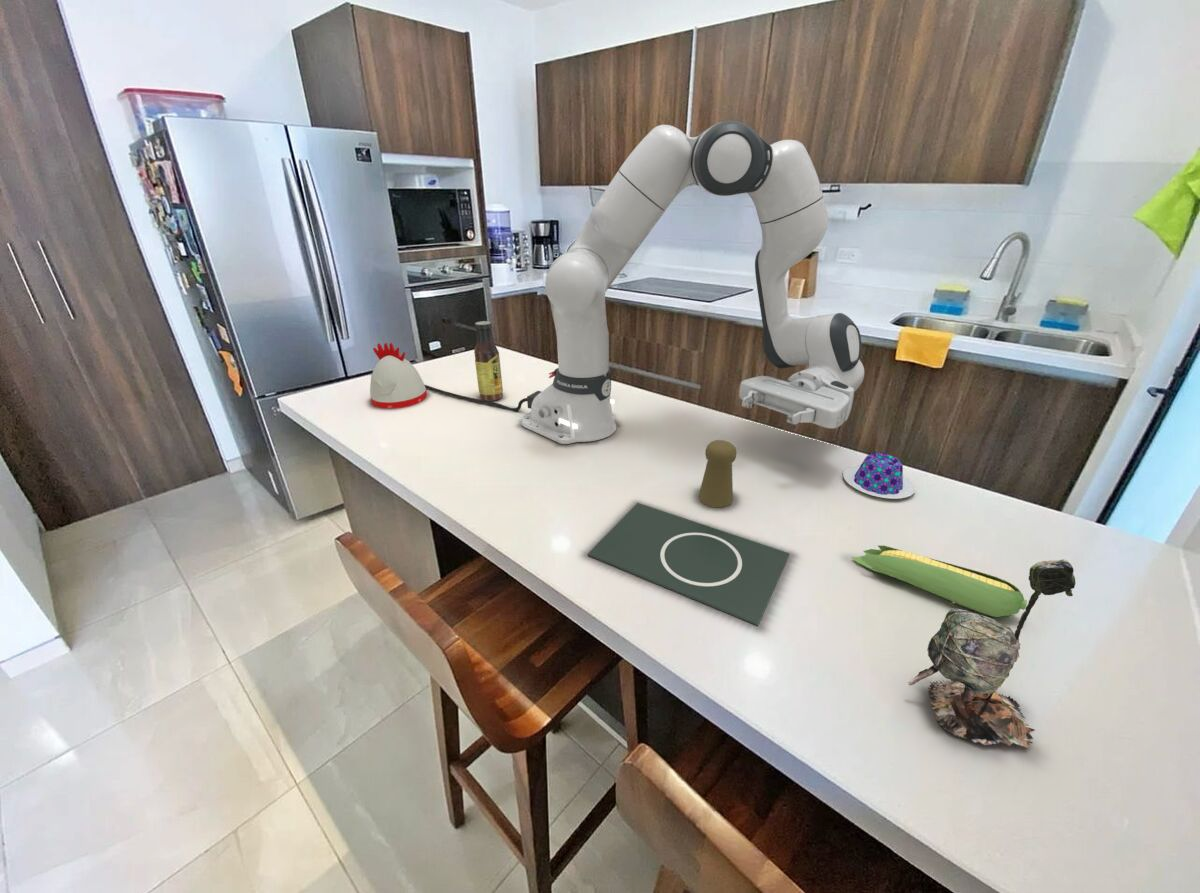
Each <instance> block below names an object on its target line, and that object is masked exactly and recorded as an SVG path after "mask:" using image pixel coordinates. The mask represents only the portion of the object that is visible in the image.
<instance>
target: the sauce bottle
mask: <svg viewBox="0 0 1200 893" xmlns="http://www.w3.org/2000/svg"><path fill="white" fill-rule="evenodd" d="M474 327H475V330H476V340H477V342H476V345H475V346H474V348H473V350H474V351H473V352H474V364H475V371H476V372H475V373H476V379H477V388H478V393H479V399H480V400H484V401H490V402H494V401H498V400H500V399H501V398H503V396H504V395H503V394H504V392H503V391H504V387H503V376H502V369H501V359H500V352H499V350H498V347H497V345H496V344H495V341H494V337H493V330H492V328H493V326H492V322H491V321H489V320H488V321H487V320H482V321H477V322H475V323H474Z"/></svg>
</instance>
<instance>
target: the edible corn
mask: <svg viewBox="0 0 1200 893" xmlns="http://www.w3.org/2000/svg"><path fill="white" fill-rule="evenodd" d="M877 547H878V548H879V549H875V548H874V549H873V548H869V549H865V550H862V551H863V553H864V554H865V555H861V556H852V557H851V559H852V560H854V562H856V563H858V564H860V565H862V566H863V567H865V568H867V569H869V570H871V571H872V572H873V571H874V572H875V573H879V574H882V575H885V576H887V577H890V578H892V579H896V580H899V581H901V582H904V583H906V584H908V585H911V586H913V587H915V588H918V589H920V590H922V591H925V592H927V593H930V594H933V595H935V596H937V597H940V598H942V599H944V600H947V601H949V602H950V603H952V601H956V602H955V603H954V604H956V605H958V606H961V607H964V608H967V609H969V610H971V611H973V612H977V613H978V614H981V615H984V616H987V617H988V616H989V617H990V618H991V617H992V618H1005V617H1010V616H1014V615H1016V614H1018V613H1019V612H1020V611H1021V610H1023V611H1025V610H1026V606H1027V605H1028V600H1027V599H1025V598H1024V594H1023V593H1022V592H1021V590H1020V589H1019V588H1018V587H1017V586H1016V585H1015V584H1012V583H1011V582H1009V581H1007V580H1005V579H1002V578H1000V577H998V576H994V575H991V574H987V573H984V572H982V571H978V570H974V569H970V568H966V567H964V566H960V565H956V564H953V563H948V562H945V561H941V560H937V559H934V558H931V557H927V556H923V555H920V554H917V553H913V552H909V551H905V550H902V549H898V548H895V547H891V546H887V545H877Z"/></svg>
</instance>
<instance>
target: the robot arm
mask: <svg viewBox="0 0 1200 893" xmlns="http://www.w3.org/2000/svg"><path fill="white" fill-rule="evenodd" d="M692 185H696V186H697V187H699V188H701V189H702V190H703V191H705V192H706V193H708V194H712V195H714V196H720V197H721V196H722V197H726V196H727V197H728V196H735V195H740V194H747V195H748V196H749V197H750V199H751V202H752V203H753V206H754V208H755V211H756V214H757V218H758V222H759V225H760V229H761V230H760V231H761V246H760V249H759V250H758V251H757V252H756V255H755V258H754V271H755V273H754V274H755V282H756V289H757V295H758V296H757V297H758V304H759V309H760V315H761V316H760V317H761V322H762V335H763V336H762V348H763V353H764V356H765V358H766V359H767V360H768V361H769V362H770V363H771V365H773V366H774V367H776V368H777V369H788V368H794V367H795V368H796V367H800V366H807V368H805V369H802V370H800V371H798V372H795V373H793V374H791V375H790V376H789V377H788V378H787V380H782V379H780V378H777V377H773V376H769V375H758V376H754V377H749V378H747V379H744V380H743V379H742V380H741V382H740V383H739V387H738V388H739V389H738V396H739V399H740V400H742V401H741V407H743V408H746V409H751V408H754V406H755V405H757V406H760V407H763V408H766V409H769V410H772V411H775V412H777V413H778V412H779V413H780V414H783V415H787V419H786V422H787V423H788V424H791V425H797V424H799V423H800V424H802V423H803V424H804V423H806V424H808V423H810V424H814V425H816V426H819V427H822V428H824V429H831V430H832V429H837V428H839V427H841V426H842V425H843V424H844V423H845V422H846V421H848V420H849V416H850V414H851V411H852V407H853V402H854V399H855V398H854V397H855V392H856V391H857V390H858V389H859V388H860V386H861V385H862V384H863V381H864V379H865V368H864V367H865V366H864V365H863V364H864V363H863V362H861V360H860V359H861V354H862V337H861V333H860V329H859V328H858V326H857V325H856V323H855V322H854V321H853V320H852V319H851V318H850V317H849V316H848V315H846V314H845V313H843V312H837V313H830V314H821V315H816V316H810V317H801V318H793V317H792V316H791V315H790V314H789V309H788V301H787V300H788V299H787V293H786V283H785V280H786V275H787V273H788V271H789V270H790V269H791V268H792V267H794V266H795V265H797V264H798V263H799V262H801V261H802V260H804V259H805V258H807V256H809V255H810V254H811V253H812V252H814V250H816V249H817V247H818V246H819V245H820V244H821V242H822V241H823V239H824V237H825V235H826V234H827V229H828V225H829V218H828V217H829V216H828V209H827V205H826V201H825V197H824V193H823V189H822V185H821V182H820V178H819V176H818V173H817V171H816V168H815V166H814V163H813V161H812V158H811V156H810V154H809V153H808V151H807V149H806V146H805V145H804V144H803V142H801V141H799V140H796V139H782V140H779V141H775V142H773V143H771V144H770V143H769V142H767V140H765V139H764V138H763V137H762V136H760V135H759V133H757V131H755V130H754V129H753V128H752V127H751V126H749V125H748V124H746V123H744V122H742V121H738V120H724V121H720V122H717V123H714V124H713V125H711V126H709V127H708V128H707V129H706V130H704V131H703V132H701V133H699V134H698V135H695V136H693V137H692V136H689V135H687V134H686V133H685V132H683V131H682V130H681V129H679V128H678V127H675V126H673V125H670V124H659V125H657V126H655V127H653V128H652V129H651V130H650V131H649V132H648V133H647V134H646V135H645V136H644V137H643V138H642V140H640V142H639V143H638V144H637V145H636V146H635V147H634V149H633V150H632V151H631V152H630V154H629V155H628V156H627V158H626V159H625V160H624V162H622V165H620V167H619V169H618V171H617V172H616V173H615V175H614V176H613V178H612V179H611V181H610V182H609V184H608V186H607V187H605V189H604V192H603V193H602V194H601V196H600V197H599V199H598V200H597V201H596V204H595V205H594V207H593V208H592V209H591V212H590V214H589V216H588V218H587V220H586V221H585V223H584V225H583V227H582V229H581V231H580V232H579V233H578V236H577V237H576V239H575V241H574V242H573V243H572V245H571V246H570V248H569V249H567V251H566V252H564V253H563V254H561V255H560V256H558V257H557V258H556V259H555V260H554V261H553V262H552V263H551V265H550V266H549V268H548V271H547V274H546V276H545V284H544V286H545V288H544V289H545V292H546V293H545V294H546V296H547V299H548V300H549V305H550V310H551V315H552V316H551V317H552V319H553V320H552V321H553V323H554V325H553V326H554V329H555V335H556V346H557V350H556V351H557V361H558V362H557V366H558V367H556V368H555V369H554V370H553V371H551V372H549V373H548V375H549V376H548V378H549V379H552V378H553V377H554V378H553V381H552V383H551V384H550V385H549V386H547V387H546V388H544V389H543V390H542V391H541V390H536V391H534V392H532V393H531V394H529V395H528V396H526V397H524V398H522V399H520V400H519V402H518V405H517V406H516V407H509V406H507V405H504V404H501V403H499V402H494V401H485V400H482V399H480V398H474V397H470V396H465V395H461V394H457V393H452V392H449V391H445V390H442V389H439V388H436V387H434V386H430V385H427V384H424V385H425V388H426V390H431V391H433V392H436V393H440V394H443V395H447V396H450V397H452V398H453V397H454V398H457V399H461V400H466V401H470V402H474V403H479V404H484V405H490V406H493V407H498V408H501V409H504V410H507V411H511V412H518V411H520V410H521V408H522V405H523V403H525V402H527V403H526V404H527V409H530V412H529V413H527V414H526V415H525V416H524V417H523V418H522V420H521V427H523V428H525V429H528V430H529V431H531V432H534V433H536V434H539V435H540V436H543V437H545V438H546V439H550V440H552V441H554V442H555V443H558V444H561V445H569V444H574V443H581V442H583V443H584V442H585V443H586V442H595V441H599V440H603V439H606V438H608V437H610V436H612V435H613V434H614V433H615V432H616V430H617V424H616V421H615V418H614V412H613V408H612V405H613V404H615V399H611V393H612V392H611V391H612V370H611V367H610V332H609V328H608V321H607V311H606V293H607V291H608V289H609V288H610V287H611V286H612V284H613V283H614V281H615V280H616V279H617V278H618V276H619V274H621V272H622V271H623V269H624V268H625V266H626V265H627V264H628V263H629V261H630V259H631V258H632V257H633V256H634V255H635V253H636V251H638V249H639V248H640V246H641V245H642V244H643V242H644V241H645V239H646V238H647V237H648V235H649V234H650V233H651V231H652V230H653V229H654V227H655V226H656V225H657V223H658V222H659V221H660V219H661V218H662V216H663V215H664V214H665V213H666V211H667V210H668V208H669V207H670V206H671V204H672V203H673V201H674V200H675V199H676V197H677V196H678V195H679V194H680V193H681V192H682V191H683V190H685V188H687V187H689V186H692Z"/></svg>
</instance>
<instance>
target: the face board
mask: <svg viewBox="0 0 1200 893" xmlns="http://www.w3.org/2000/svg"><path fill="white" fill-rule="evenodd" d="M587 556H588V557H590V558H593V559H595V560H597V561H600V562H603V563H604V564H607V565H609V566H612V567H614V568H617V569H619V570H621V571H623V572H627V573H628V574H631V575H634V576H636V577H638V578H641V579H643V580H645V581H648V582H651V583H653V584H656V585H658V586H659V587H663V588H665V589H668V590H670V591H673V592H674V593H677V594H679V595H682V596H685V597H687V598H689V599H692V600H694V601H697V602H699V603H701V604H704V605H705V606H706V605H707V606H708V607H711V608H713V609H715V610H718V611H720V612H723V613H726V614H728V615H731V616H733V617H735V618H737V619H741V620H742V621H744V622H747V623H749V624H752V625H754V626H757V627H758V626H759V624H760V622H761V620H762V618H763V615H764V612H765V611H766V608H767V606H768V604H769V601H770V599H771V597H772V595H773V592H774V590H775V588H776V586H777V584H778V581H779V579H780V576H781V574H782V572H783V570H784V568H785V565H786V563H787V561H788V558H789V556H790V552H787V551H784V550H780V549H777V548H775V547H772V546H768V545H766V544H763V543H760V542H757V541H754V540H751V539H748V538H744V537H742V536H739V535H736V534H733V533H730V532H728V531H724V530H721V529H717V528H715V527H712V526H709V525H707V524H702V523H700V522H697V521H694V520H692V519H688V518H684V517H681V516H678V515H675V514H673V513H669V512H666V511H664V510H661V509H658V508H654V507H652V506H649V505H645V504H643V503H640V502H637V503H636V504H634V506H632V508H630V510H629V511H628V512H627V513H626V514H625V515H624V516H623V517H622V518H621V519H620V520H619V521H618V522H617V523H616V524H615V525H613V527H612V528H611V529H610V530H609V531H608V532H607V533H606V534H605V535H604V536H603V537H602V538H601V540H599V541H598V542H597V544H596V545H595V546H594V547H593V548H592V549H590V551H589V552H588V553H587Z"/></svg>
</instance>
